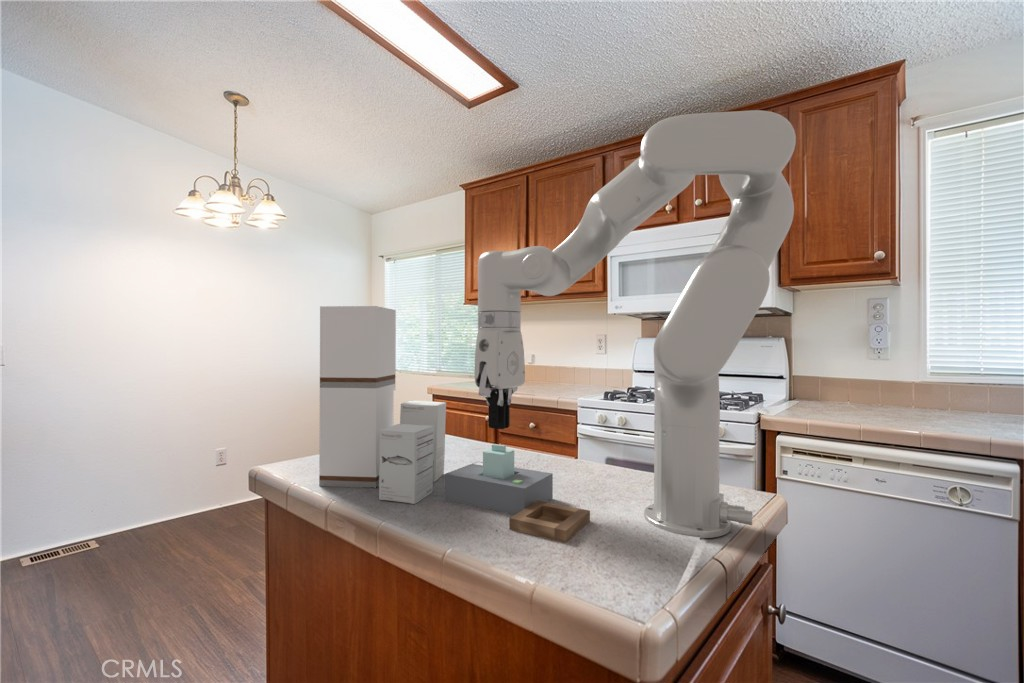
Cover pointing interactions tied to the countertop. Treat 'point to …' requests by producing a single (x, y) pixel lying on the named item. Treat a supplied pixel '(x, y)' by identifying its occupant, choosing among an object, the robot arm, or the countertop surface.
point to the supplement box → (406, 463)
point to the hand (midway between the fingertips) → (499, 427)
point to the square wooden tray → (550, 521)
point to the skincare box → (428, 416)
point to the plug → (498, 462)
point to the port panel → (498, 488)
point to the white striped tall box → (355, 392)
